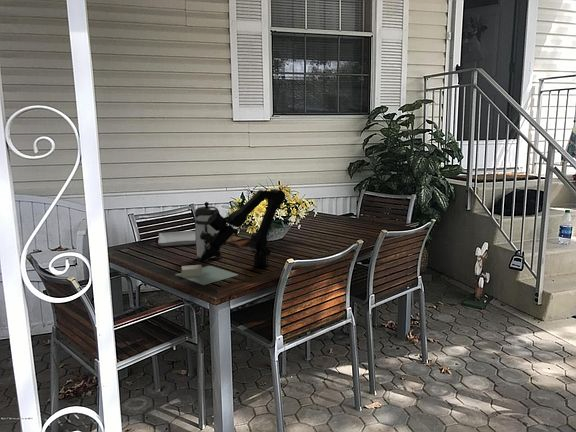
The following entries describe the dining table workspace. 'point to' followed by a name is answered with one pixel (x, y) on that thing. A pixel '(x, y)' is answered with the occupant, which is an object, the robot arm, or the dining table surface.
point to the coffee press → (203, 226)
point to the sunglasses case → (238, 241)
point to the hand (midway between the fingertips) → (199, 261)
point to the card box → (192, 270)
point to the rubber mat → (210, 275)
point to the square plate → (177, 238)
